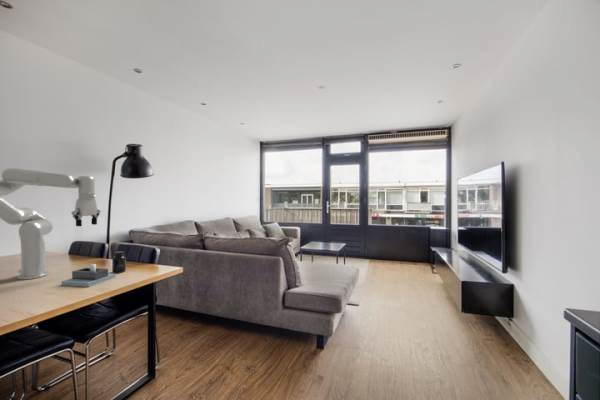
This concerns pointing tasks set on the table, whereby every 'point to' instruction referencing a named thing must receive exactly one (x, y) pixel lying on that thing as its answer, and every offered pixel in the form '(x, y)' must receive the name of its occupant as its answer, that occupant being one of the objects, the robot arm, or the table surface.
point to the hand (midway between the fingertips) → (86, 225)
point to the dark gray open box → (89, 274)
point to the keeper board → (87, 282)
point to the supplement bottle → (119, 262)
